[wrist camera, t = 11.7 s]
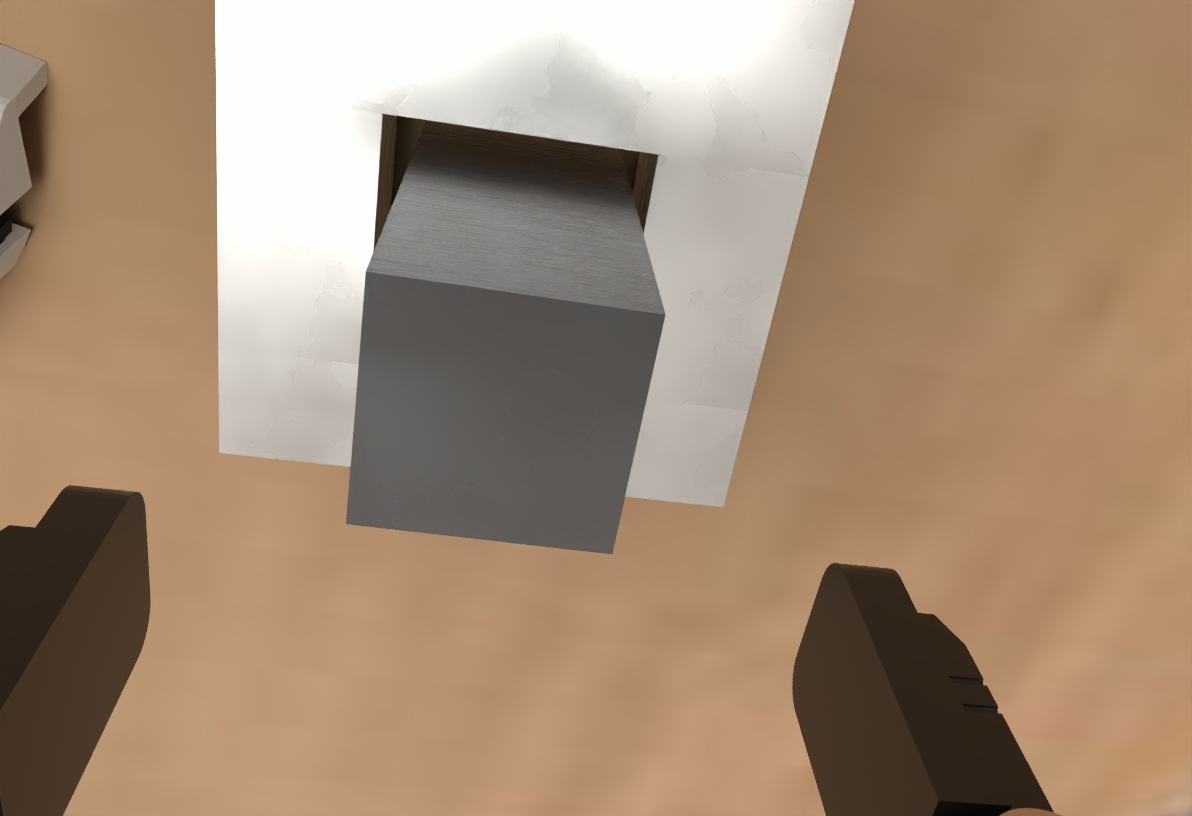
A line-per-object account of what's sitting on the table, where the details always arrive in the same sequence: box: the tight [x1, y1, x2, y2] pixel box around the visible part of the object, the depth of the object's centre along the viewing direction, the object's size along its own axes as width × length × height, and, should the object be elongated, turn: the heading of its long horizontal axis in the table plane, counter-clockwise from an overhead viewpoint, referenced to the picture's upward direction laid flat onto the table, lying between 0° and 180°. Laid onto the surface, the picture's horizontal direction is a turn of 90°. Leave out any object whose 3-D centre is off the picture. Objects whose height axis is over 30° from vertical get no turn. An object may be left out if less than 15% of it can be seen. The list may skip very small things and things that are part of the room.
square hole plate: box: [216, 0, 855, 507], centre depth 23 cm, size 15×12×3 cm
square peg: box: [346, 120, 666, 554], centre depth 21 cm, size 4×4×10 cm
